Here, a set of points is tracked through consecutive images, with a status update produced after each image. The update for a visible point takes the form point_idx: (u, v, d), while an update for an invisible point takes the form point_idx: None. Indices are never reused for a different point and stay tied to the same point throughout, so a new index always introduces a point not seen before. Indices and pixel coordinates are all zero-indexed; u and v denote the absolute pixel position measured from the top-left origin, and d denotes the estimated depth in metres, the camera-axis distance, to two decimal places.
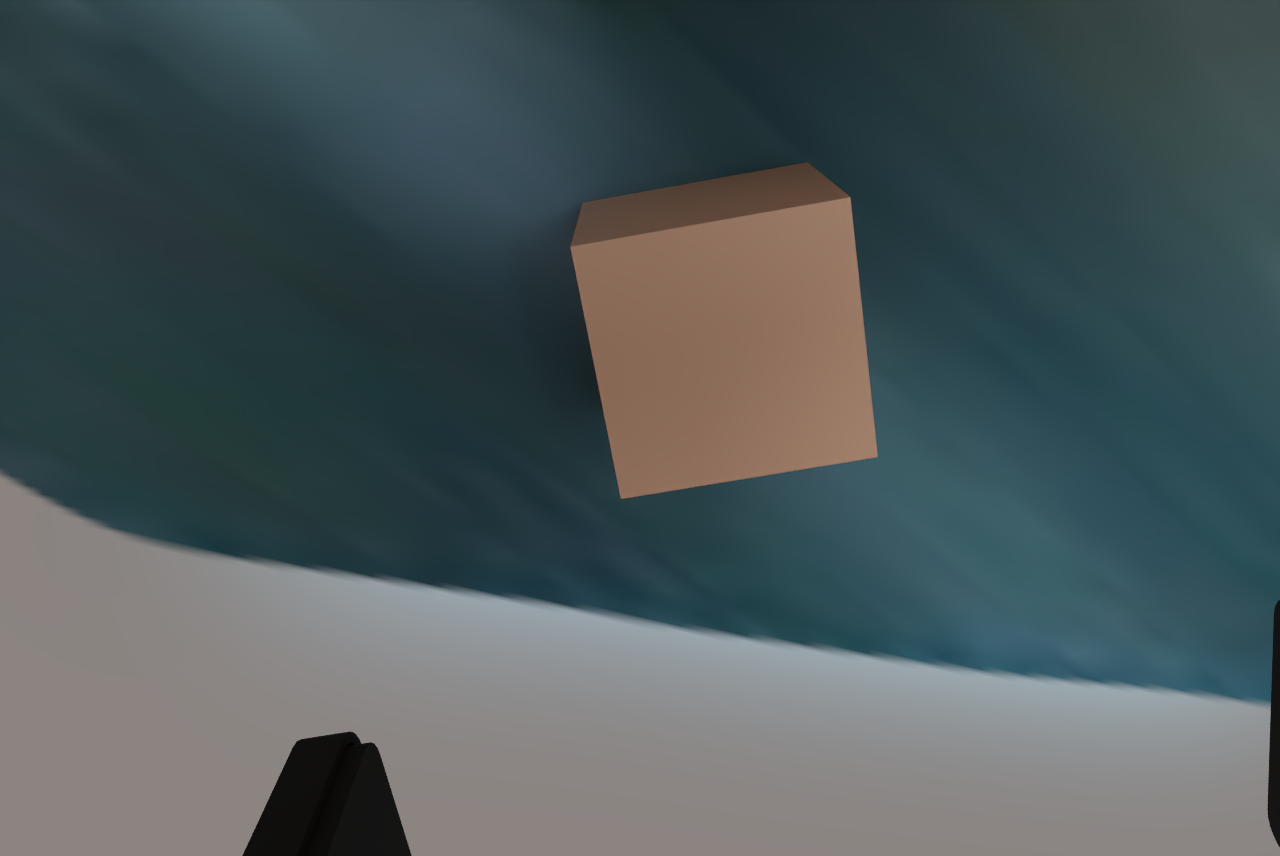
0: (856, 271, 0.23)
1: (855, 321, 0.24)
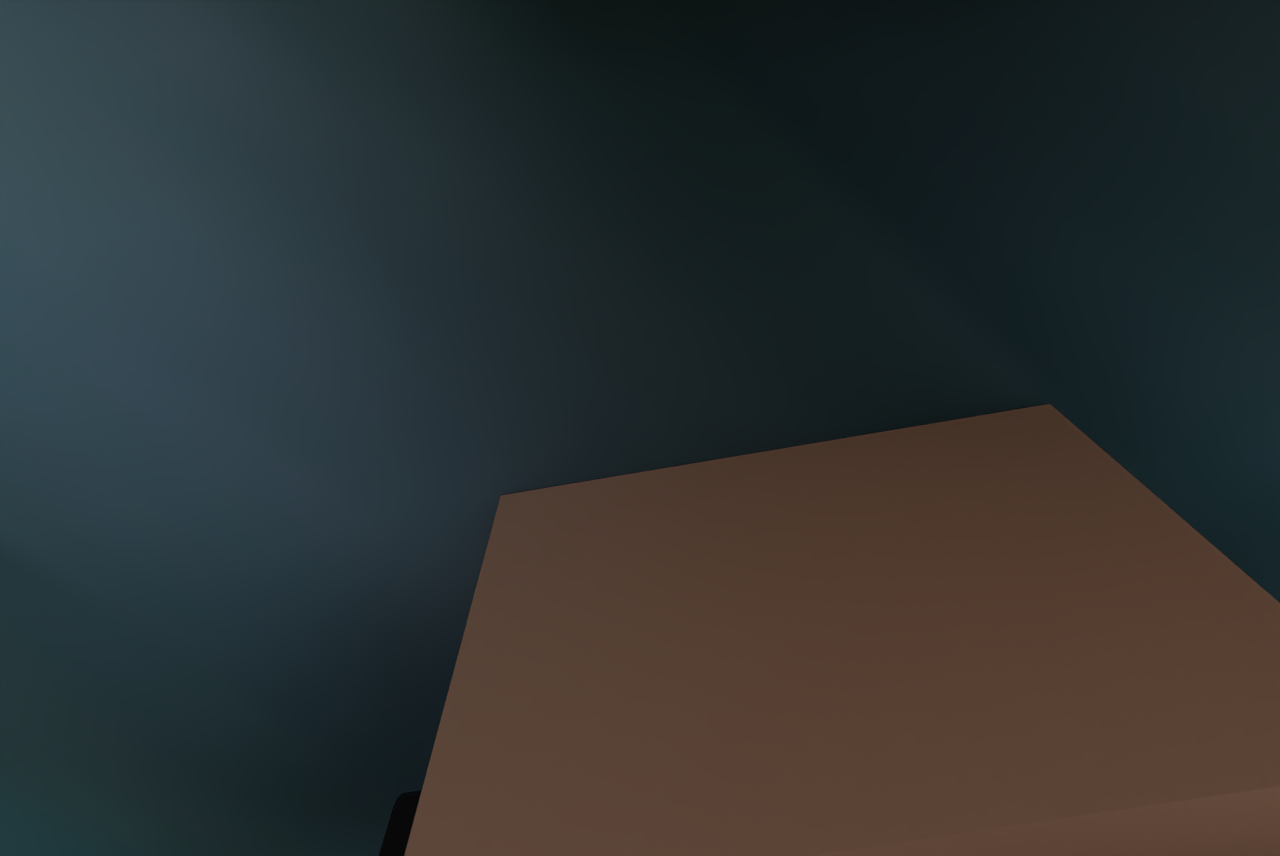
0: None
1: None
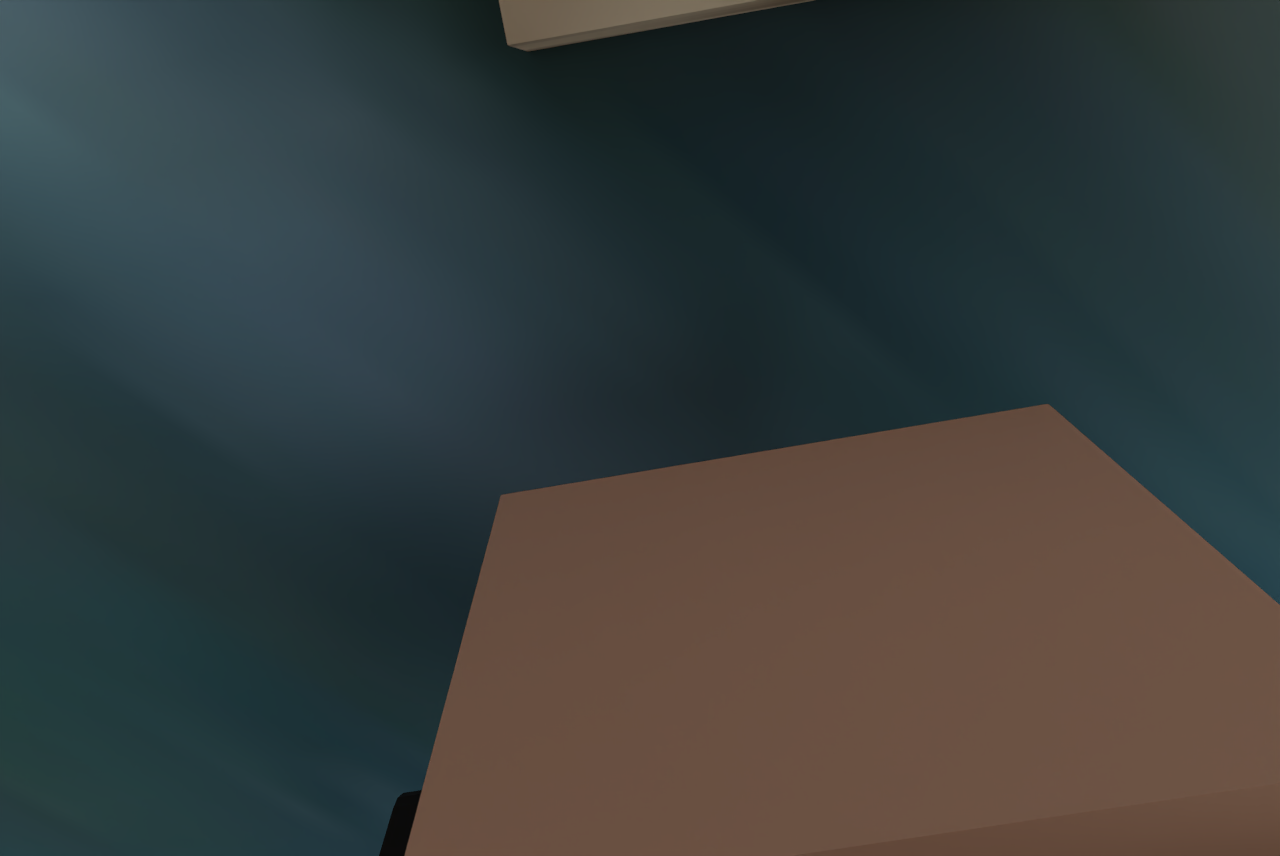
0: None
1: None
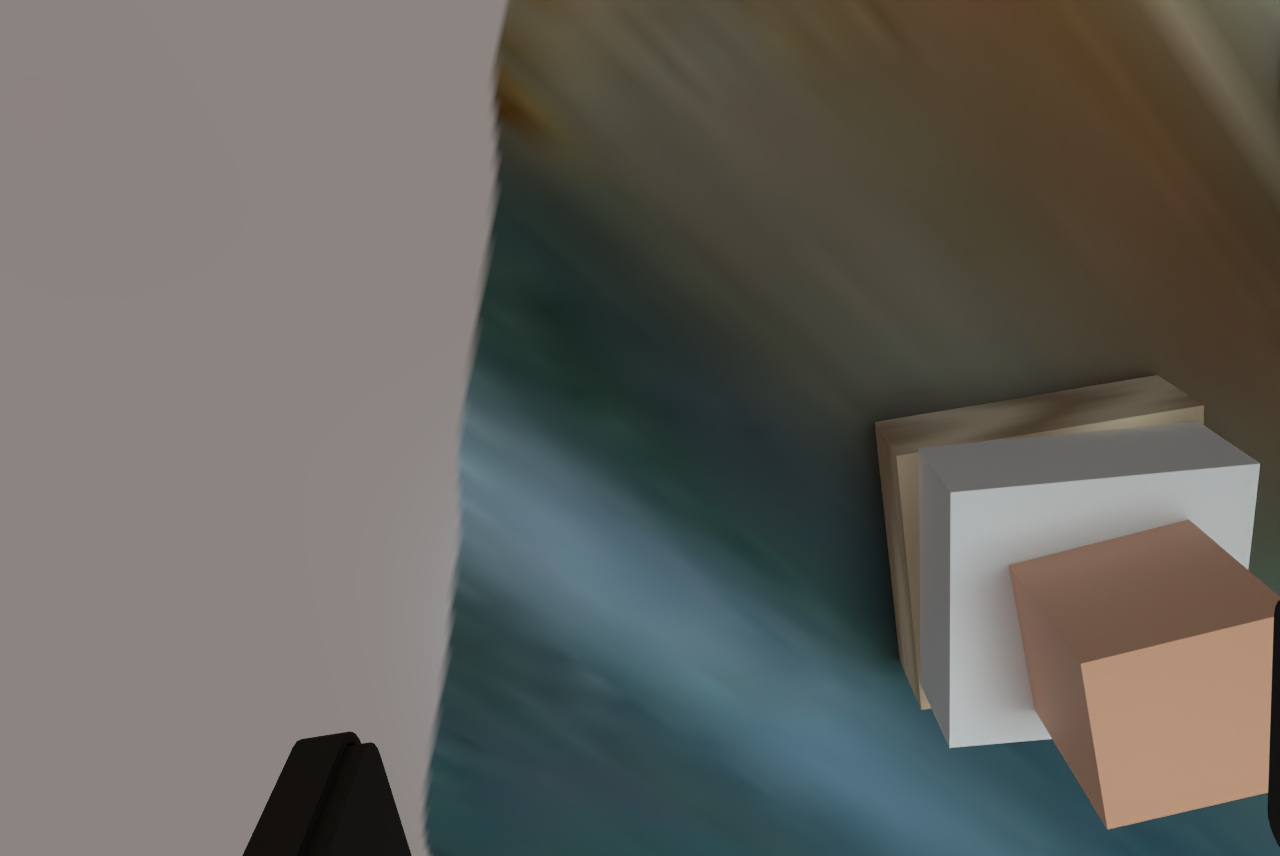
0: None
1: None
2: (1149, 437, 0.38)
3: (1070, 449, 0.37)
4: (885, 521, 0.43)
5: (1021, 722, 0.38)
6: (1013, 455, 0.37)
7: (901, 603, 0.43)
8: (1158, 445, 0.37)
